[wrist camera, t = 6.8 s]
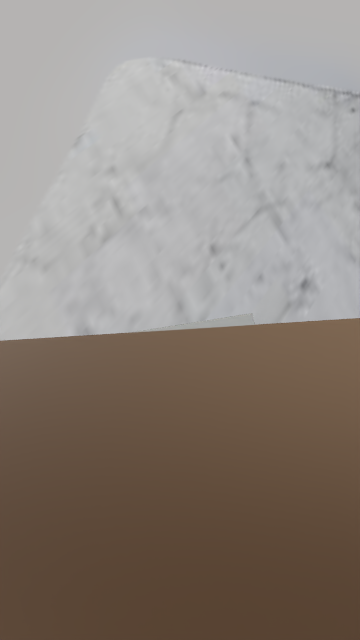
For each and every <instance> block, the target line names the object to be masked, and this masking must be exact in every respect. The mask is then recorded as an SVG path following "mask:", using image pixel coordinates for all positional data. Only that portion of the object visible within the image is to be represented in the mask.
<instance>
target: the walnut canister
mask: <svg viewBox="0 0 360 640" xmlns="http://www.w3.org/2000/svg"><path fill="white" fill-rule="evenodd" d="M0 640H360V318H355V319H339V320H323V321H307V322H292V323H276V324H260V325H244V326H228V327H212V328H197V329H181V330H165V331H149V332H133V333H117V334H102V335H86V336H70V337H54V338H38V339H22V340H7V341H0Z"/></svg>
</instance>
